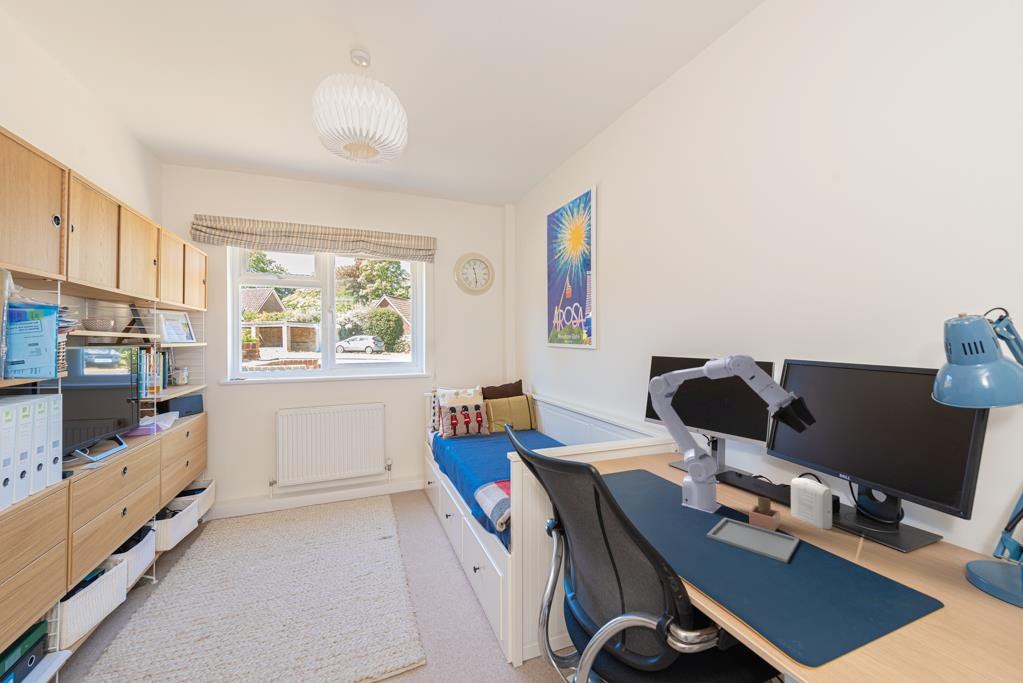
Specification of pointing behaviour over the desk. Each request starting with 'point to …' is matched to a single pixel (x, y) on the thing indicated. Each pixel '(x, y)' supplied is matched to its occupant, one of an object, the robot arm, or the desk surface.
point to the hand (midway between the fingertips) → (808, 427)
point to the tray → (754, 539)
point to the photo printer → (811, 502)
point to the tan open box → (764, 519)
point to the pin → (764, 506)
